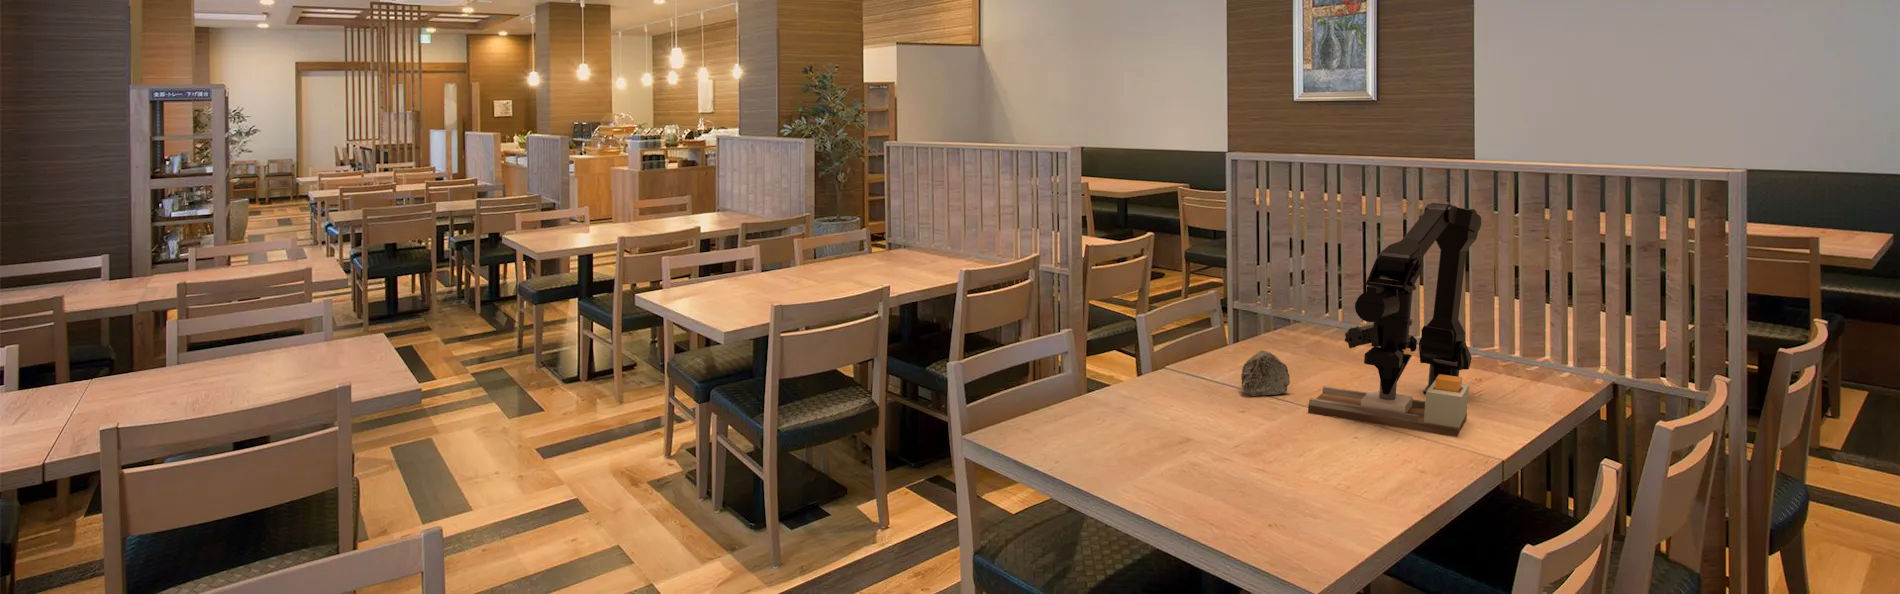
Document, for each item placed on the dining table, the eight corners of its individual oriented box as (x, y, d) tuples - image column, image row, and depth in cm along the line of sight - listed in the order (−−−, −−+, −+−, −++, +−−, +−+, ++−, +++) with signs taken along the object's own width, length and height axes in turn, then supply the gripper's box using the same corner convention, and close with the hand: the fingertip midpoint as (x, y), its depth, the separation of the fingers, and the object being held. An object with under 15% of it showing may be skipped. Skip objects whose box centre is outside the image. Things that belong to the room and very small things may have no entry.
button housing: (1432, 409, 193) (1435, 379, 192) (1466, 414, 189) (1469, 384, 188) (1423, 422, 185) (1426, 391, 184) (1458, 427, 181) (1461, 396, 180)
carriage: (1369, 399, 198) (1372, 361, 197) (1412, 405, 194) (1415, 367, 192) (1360, 409, 192) (1363, 370, 190) (1404, 416, 187) (1407, 376, 186)
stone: (1273, 352, 204) (1267, 340, 213) (1234, 380, 207) (1229, 367, 216) (1302, 386, 204) (1294, 373, 214) (1262, 414, 207) (1257, 399, 217)
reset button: (1436, 399, 189) (1439, 374, 188) (1459, 402, 187) (1462, 377, 186) (1433, 404, 186) (1435, 378, 185) (1456, 407, 184) (1459, 382, 183)
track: (1323, 398, 206) (1324, 385, 205) (1466, 420, 190) (1467, 407, 190) (1308, 412, 196) (1308, 399, 196) (1457, 437, 181) (1458, 423, 180)
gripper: (1361, 302, 201) (1355, 375, 204) (1338, 318, 186) (1333, 396, 189) (1420, 308, 195) (1413, 383, 198) (1401, 325, 180) (1395, 406, 183)
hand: (1387, 392), depth 192 cm, fingers closed on carriage, 3 cm apart
